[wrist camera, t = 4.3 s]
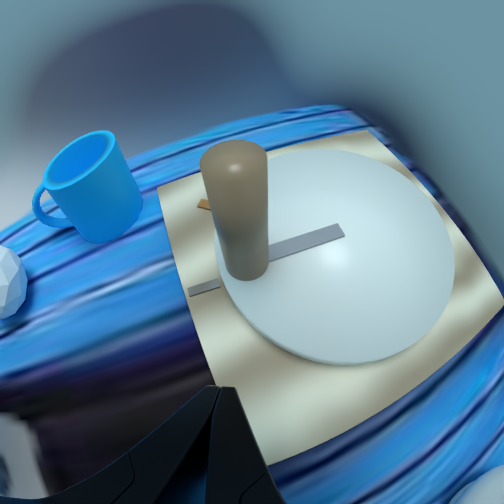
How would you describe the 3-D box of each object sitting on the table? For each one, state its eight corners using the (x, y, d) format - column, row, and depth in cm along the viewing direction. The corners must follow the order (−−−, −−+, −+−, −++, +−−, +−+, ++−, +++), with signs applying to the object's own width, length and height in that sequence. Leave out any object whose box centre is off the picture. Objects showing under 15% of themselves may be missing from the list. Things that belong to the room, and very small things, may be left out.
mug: (140, 176, 30) (116, 120, 23) (146, 227, 26) (114, 165, 19) (58, 212, 28) (25, 167, 22) (52, 265, 24) (7, 220, 17)
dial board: (496, 308, 19) (506, 301, 17) (254, 465, 15) (253, 471, 13) (364, 139, 32) (367, 128, 30) (161, 197, 28) (156, 186, 26)
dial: (369, 147, 28) (388, 66, 19) (479, 296, 18) (553, 226, 9) (194, 189, 26) (167, 91, 17) (269, 412, 15) (273, 419, 6)
